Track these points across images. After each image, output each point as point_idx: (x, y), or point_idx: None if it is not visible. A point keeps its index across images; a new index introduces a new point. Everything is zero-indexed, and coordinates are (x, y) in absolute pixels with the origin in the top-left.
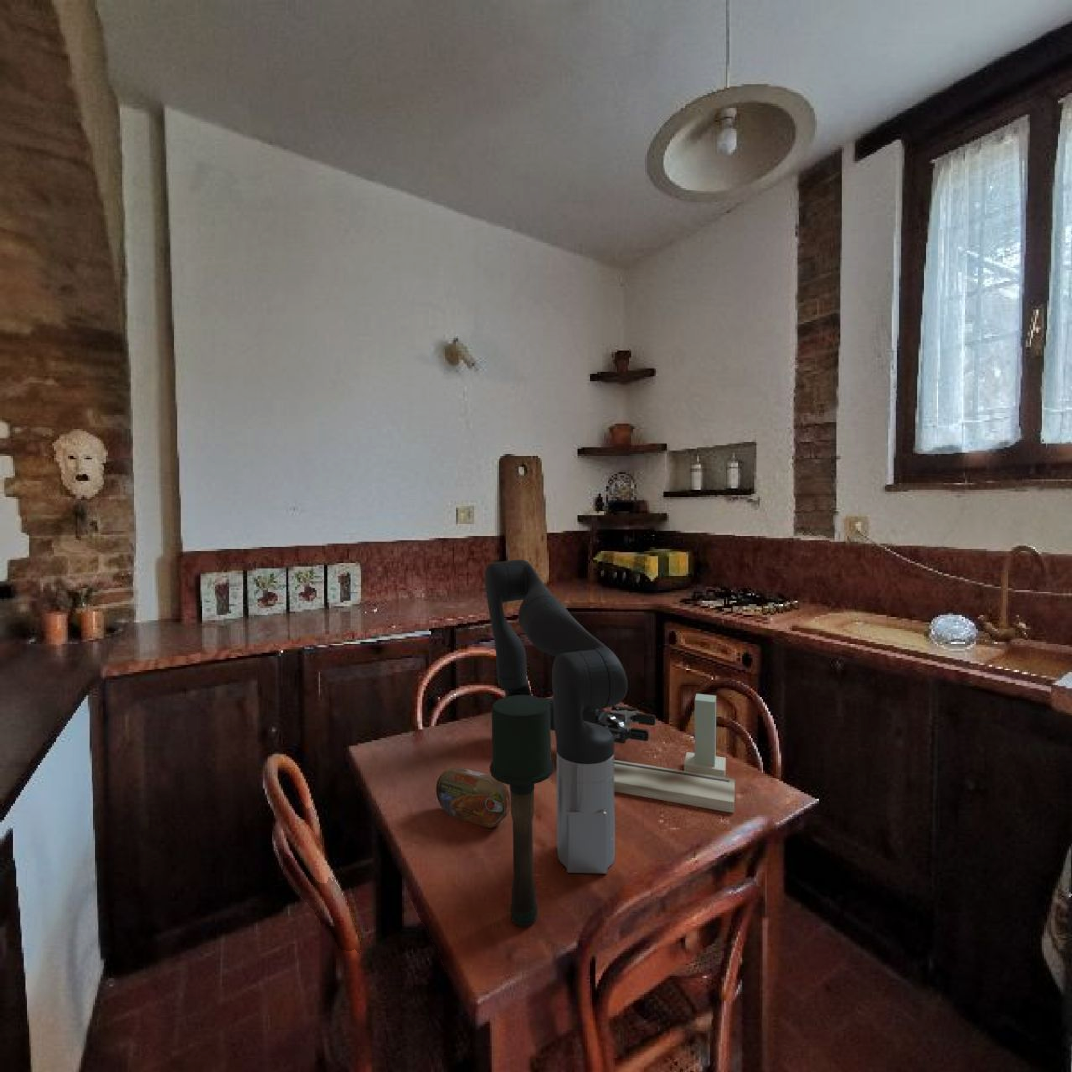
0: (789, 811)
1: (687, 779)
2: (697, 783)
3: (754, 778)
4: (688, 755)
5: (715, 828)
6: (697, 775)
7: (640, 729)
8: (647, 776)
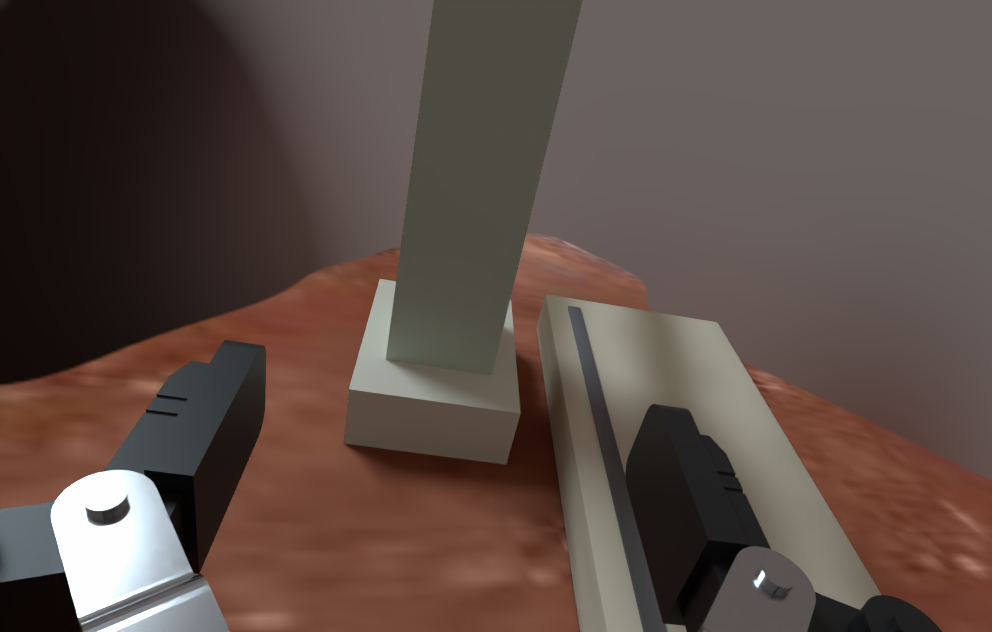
0: (599, 261)
1: None
2: (662, 391)
3: None
4: (396, 387)
5: (834, 406)
6: (593, 382)
7: (691, 454)
8: None
